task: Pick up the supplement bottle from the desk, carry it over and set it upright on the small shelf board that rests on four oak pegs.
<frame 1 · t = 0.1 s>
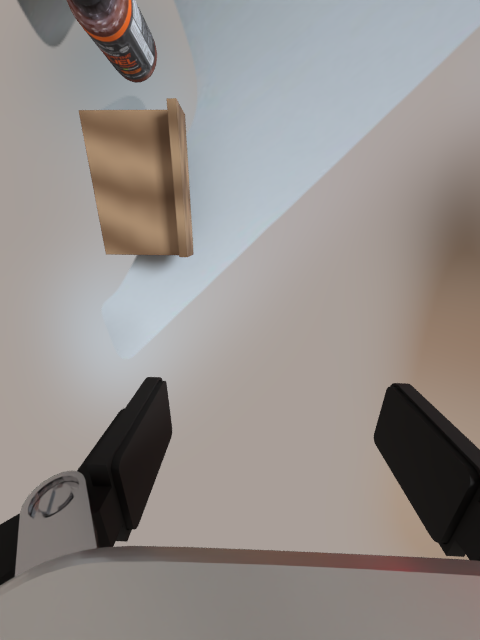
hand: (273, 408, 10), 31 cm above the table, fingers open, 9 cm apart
peg shelf: (157, 196, 35), on the table
supplement bottle: (136, 56, 30), on the table
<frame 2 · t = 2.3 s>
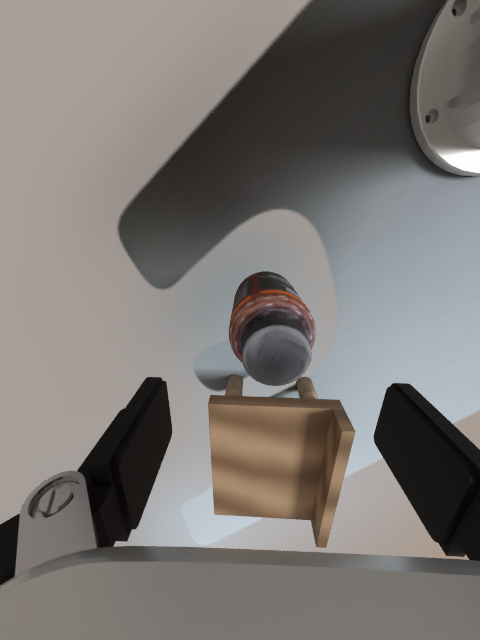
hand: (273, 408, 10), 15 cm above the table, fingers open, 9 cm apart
peg shelf: (266, 421, 29), on the table
supplement bottle: (264, 299, 24), on the table
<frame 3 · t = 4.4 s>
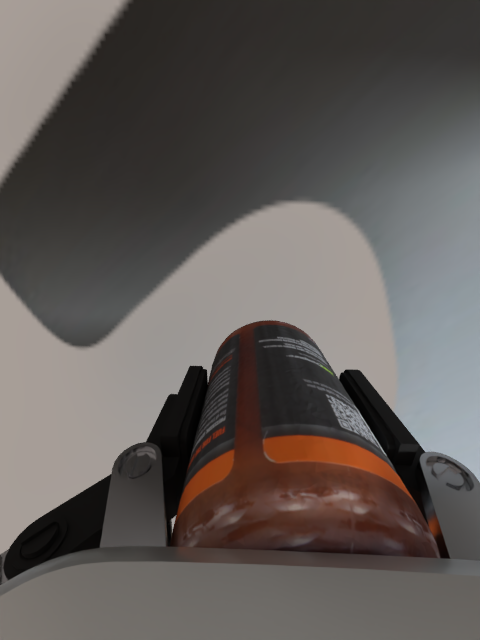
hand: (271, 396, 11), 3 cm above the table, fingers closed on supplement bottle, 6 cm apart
supplement bottle: (266, 364, 13), on the table, touching gripper
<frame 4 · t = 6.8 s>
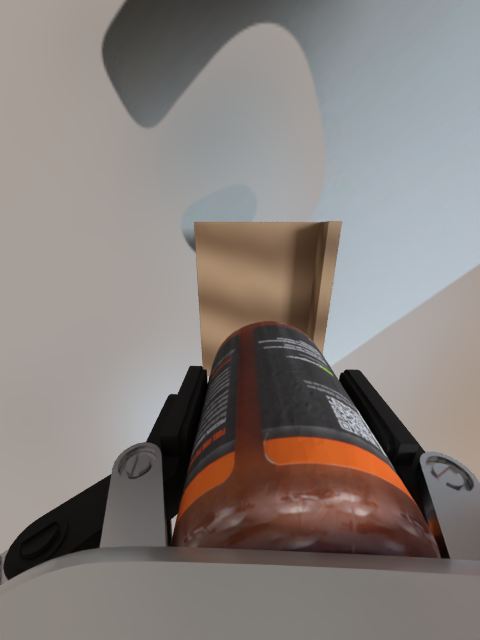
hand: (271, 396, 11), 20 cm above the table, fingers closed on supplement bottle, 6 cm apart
peg shelf: (256, 293, 29), on the table
supplement bottle: (266, 364, 13), point 17 cm above the table, touching gripper
when the fingers open (10 cm above the table, at t = 9.4 s): supplement bottle moves 1 cm, resting on peg shelf.
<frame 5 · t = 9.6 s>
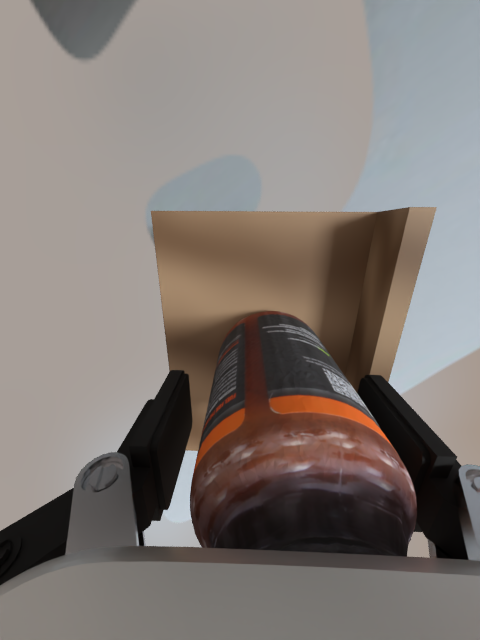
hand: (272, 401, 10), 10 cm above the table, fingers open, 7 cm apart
peg shelf: (260, 320, 20), on the table
supplement bottle: (269, 352, 14), point 6 cm above the table, touching peg shelf
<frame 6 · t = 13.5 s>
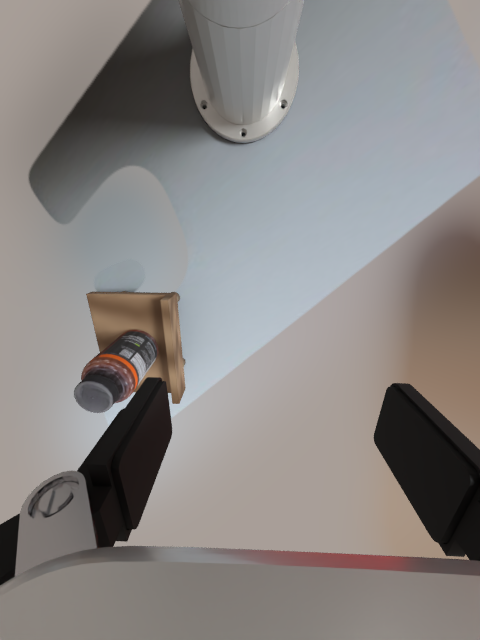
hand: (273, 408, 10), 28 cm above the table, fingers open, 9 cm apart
peg shelf: (154, 330, 40), on the table
supplement bottle: (140, 345, 34), point 6 cm above the table, touching peg shelf
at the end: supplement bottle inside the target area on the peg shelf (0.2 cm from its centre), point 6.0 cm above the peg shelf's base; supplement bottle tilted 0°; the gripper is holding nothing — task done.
